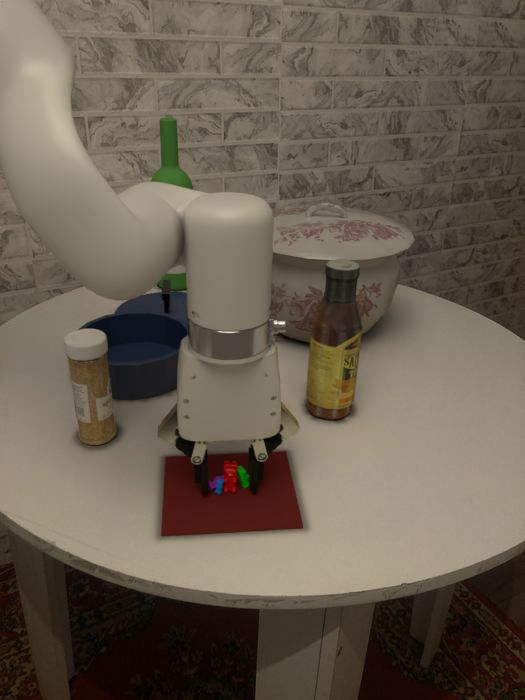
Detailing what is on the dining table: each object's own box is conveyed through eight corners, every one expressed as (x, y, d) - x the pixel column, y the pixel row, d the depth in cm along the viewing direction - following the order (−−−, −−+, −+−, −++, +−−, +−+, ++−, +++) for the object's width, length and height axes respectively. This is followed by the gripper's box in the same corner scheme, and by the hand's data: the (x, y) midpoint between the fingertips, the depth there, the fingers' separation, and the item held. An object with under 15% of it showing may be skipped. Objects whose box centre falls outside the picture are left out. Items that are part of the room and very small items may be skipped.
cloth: (161, 536, 58) (161, 534, 58) (165, 458, 68) (165, 456, 68) (303, 528, 59) (303, 525, 59) (286, 452, 70) (286, 450, 70)
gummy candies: (203, 495, 63) (203, 469, 61) (206, 478, 65) (206, 452, 63) (251, 497, 63) (251, 471, 61) (252, 480, 65) (253, 455, 63)
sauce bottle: (347, 426, 75) (364, 278, 65) (299, 416, 77) (309, 270, 67) (357, 399, 80) (374, 259, 71) (312, 390, 82) (323, 253, 73)
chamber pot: (435, 337, 98) (458, 212, 88) (303, 383, 84) (313, 241, 74) (325, 282, 118) (334, 175, 108) (204, 312, 104) (201, 193, 94)
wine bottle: (156, 293, 111) (145, 121, 96) (154, 277, 117) (143, 115, 103) (197, 290, 112) (193, 121, 98) (193, 275, 119) (188, 115, 104)
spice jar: (120, 441, 71) (110, 341, 65) (81, 450, 69) (67, 348, 63) (112, 420, 75) (101, 324, 68) (75, 429, 73) (60, 330, 66)
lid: (109, 342, 93) (105, 309, 90) (120, 297, 108) (117, 268, 106) (221, 339, 95) (221, 307, 92) (217, 296, 110) (217, 267, 107)
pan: (66, 401, 78) (61, 366, 76) (86, 342, 93) (82, 312, 90) (193, 397, 80) (192, 362, 77) (193, 340, 94) (192, 309, 92)
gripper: (312, 313, 59) (301, 458, 68) (139, 316, 57) (150, 465, 66) (327, 348, 52) (313, 505, 61) (132, 353, 51) (146, 514, 59)
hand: (228, 483), depth 63 cm, fingers closed on gummy candies, 4 cm apart
